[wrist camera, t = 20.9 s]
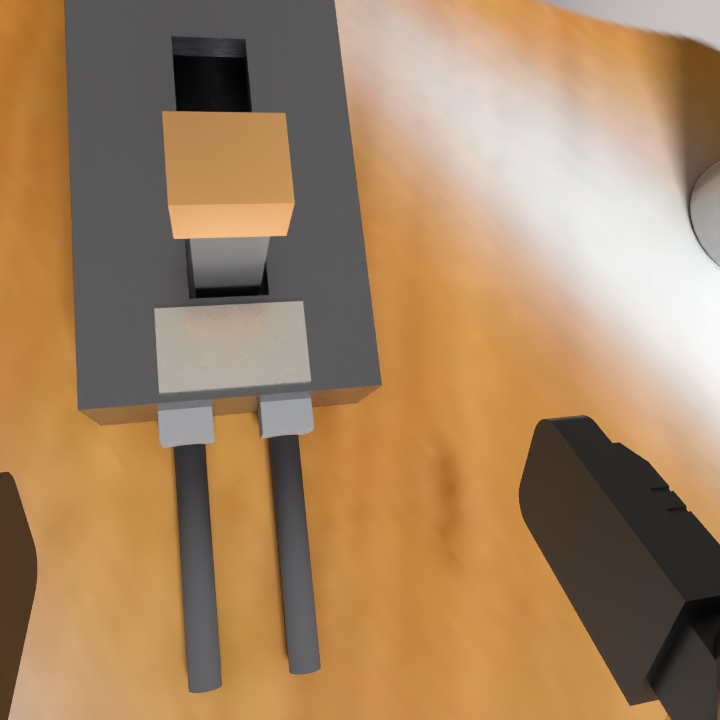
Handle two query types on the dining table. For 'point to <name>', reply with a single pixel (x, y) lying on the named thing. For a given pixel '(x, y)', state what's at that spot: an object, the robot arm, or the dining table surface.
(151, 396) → the breaker box
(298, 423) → the power cords
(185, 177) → the handle
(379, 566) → the dining table surface
